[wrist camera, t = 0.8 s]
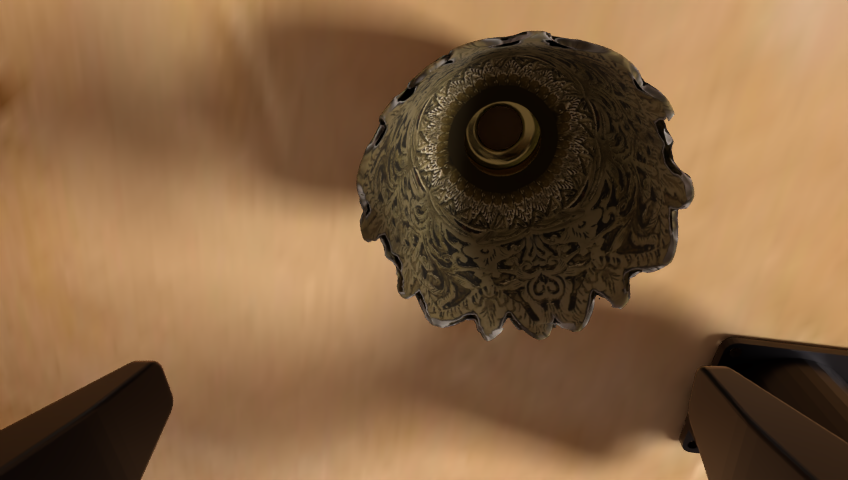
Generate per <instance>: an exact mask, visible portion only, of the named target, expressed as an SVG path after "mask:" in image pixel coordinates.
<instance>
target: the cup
mask: <svg viewBox="0 0 848 480" xmlns="http://www.w3.org/2000/svg"><path fill="white" fill-rule="evenodd" d="M497 106H505V107H509V108H511V109H513V110H514V111H515V112H516V113H517V114H518V115H519V117H520V119H521V121H522V133H521V136H520V138H519V140H518V141H517V142H516V143H515V144H514V145H513V146H512V147H510V148H508V149H505V150H492V149H490V148H488V147H486V146H485V145H484V144H483V143H482V142H481V140H480V139H479V136H478V131H477V127H478V122H479V120H480V118H481V116H482V115H483V114H484V113H485V112H486V111H487V110H489V109H491V108H493V107H497ZM673 116H674V111H673V109H672V107H671V105H670V103H669V101H668V100H667V98H666V97H665V96H664V95H663V94H662V93H661V92H660V91H659V90H657V89H656V88H654V87H653V86H651V85H650V84H648V83H646V82H644V80H643V79H642V77H641V75H640V73H639V71H638V70H637V68H636V67H635V66H634V65H633V64H632V63H631V62H630V61H628V60H627V59H626V58H625V57H623V56H622V55H620V54H619V53H617V52H615V51H613V50H611V49H608V48H606V47H603V46H600V45H597V44H593V43H589V42H586V41H582V40H576V39H567V38H561V37H555V36H551V35H550V33H547V32H544V31H527V32H522V33H519V34H516V35H513V36H508V37H496V38H487V39H482V40H478V41H474V42H471V43H467V44H464V45H462V46H459V47H457V48H455V49H453V50H451V51H450V53H449V55H444V56H442V57H440V58H439V59H438V60H436V61H435V62H433V63H432V64H430V65H429V66H427V67H426V68H425V69H424V70H423V71H422V72H421V73H419V74H418V75H417V76H416V77H415V78H414V79H413V80H411V81H410V82H409V83H408V85H407V89H406V90H405V91H403V92H402V93H401V94H400V95H398V96H395V97H394V99H393V100H392V101H391V102H390V104H389V105H388V106H387V107H386V109H385V110H384V111H383V113H382V114H381V116H380V118H379V122H380V125H379V127H378V129H377V131H376V133H375V135H374V137H373V139H372V141H371V142H370V144H369V145H368V146H367V148H366V150H365V153H364V155H363V158H362V161H361V164H360V167H359V171H358V175H357V191H358V194H359V197H360V204H361V206H362V209H363V213H362V216H361V219H360V227H361V233H362V236H363V239H364V240H365V241H367V242H371V241H377V239H379V238H380V240H381V242H382V244H383V246H384V251H385V256H386V258H388V259H389V260H390V261H392V262H393V264H394V265H395V266H396V274H397V276H398V280H397V281H398V284H397V289H398V292H399V294H400V295H401V297H403V298H404V299H409V298H411V297H413V296H414V295H415V296H416V298H417V299H418V302H419V304H420V307H421V309H422V310H423V312H424V314H425V318H426V319H427V320H428V321H429V322H430V323H431V324H432V325H434V326H438V327H442V328H445V327H449V326H454V325H456V324H458V323H459V322H463V321H465V320H474V321H475V323H476V326H477V330H478V331H479V332H480V333H481V335H482V337H483V338H484V339H485V340H486V341H491V340H492V339H494V338H495V337H496V336H497V335H498V334H500V333H501V332H502V330H503V329H504V328H503V329H502V326H503V324H504V323H505V321H506V319H507V318H510V320H511V321H512V323H513V324H514V326H515V327H516V328H517V329H518V330H524V331H525V332H526V333H527V334H529V335H530V336H532V337H533V338H536V339H538V340H542V339H546V338H547V337H548V336H549V335H550V333H551V330H552V328H555V327H556V325H558V326H560V327H561V328H564V329H568V330H571V331H573V332H577V331H581V330H582V329H583V328H584V327H585V326H586V325H587V323H588V321H589V319H590V317H591V314H592V312H593V309H594V303H595V302H594V301H595V297H596V295H599V296H601V297H603V298H606V299H607V300H608V301H609V302H610V303H611V304H612V307H613V308H619V309H622V308H623V307H624V306H625V305H626V304H627V303H628V301H629V299H630V284H629V281H630V278H632V277H634V276H636V275H637V274H638V273H640V272H646V273H649V272H654V271H657V270H659V269H662V268H663V267H665V266H667V265H668V264H669V263H671V262H672V260H673V258H674V255H675V252H676V247H677V241H678V219H677V217H678V210H679V209H686V208H687V207H688V206H689V205H690V204H691V202H692V200H693V198H694V187H693V183H692V180H691V178H690V176H688V174H686V173H684V172H683V171H681V170H680V169H679V168H678V166H677V165H676V164H675V162H674V160H673V155H672V150H671V149H672V144H673V139H672V137H671V135H670V134H669V132H668V131H667V128H666V125H665V122H664V120H665V119H666V117H667V119H668V121H670V119H671V118H672V117H673ZM599 299H600V298H599ZM556 323H557V324H556Z"/></svg>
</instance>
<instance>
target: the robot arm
mask: <svg viewBox="0 0 848 480" xmlns="http://www.w3.org/2000/svg"><path fill="white" fill-rule="evenodd" d="M734 348H737V349H736V350H734V351H731V350H732V349H734ZM172 406H173V396H172V393H171V390H170V387H169V384H168V382H167V379H166V376H165V373H164V371H163V368H162V366H161V365H160V364H159V363H158V362H156V361H134V362H131V363H129V364H127V365H125V366H123V367H121V368H119V369H117V370H115V371H113V372H111V373H110V374H108V375H106V376H104V377H102V378H100V379H98V380H96V381H94V382H92V383H90V384H88V385H87V386H85V387H83V388H81V389H79V390H77V391H75V392H73V393H71V394H69V395H67V396H65V397H64V398H62V399H60V400H58V401H56V402H54V403H52V404H50V405H48V406H46V407H44V408H42V409H41V410H39V411H37V412H35V413H33V414H31V415H29V416H27V417H25V418H23V419H21V420H19V421H18V422H16V423H14V424H12V425H10V426H8V427H6V428H4V429H2V430H0V480H141V478H142V476H143V474H144V472H145V469H146V467H147V465H148V463H149V460H150V458H151V456H152V454H153V451H154V449H155V447H156V445H157V442H158V440H159V438H160V436H161V433H162V431H163V429H164V426H165V424H166V422H167V420H168V417H169V415H170V413H171V410H172ZM688 412H689V413H688V415H687V417H686V420H685V425H684V428H683V430H682V432H681V435H680V437H679V441H680V443H681V445H682V447H683V449H684V450H685V451H687V452H692V453H700V455H701V458H702V461H703V464H704V467H705V470H706V474H707V477H708V480H848V351H847V350H839V349H830V348H822V347H813V346H805V345H796V344H788V343H779V342H771V341H762V340H754V339H746V338H737V337H731V338H728V339H725V340H724V341H722V343H721V344H720V345H719V348H718V350H717V352H716V354H715V357H714V359H713V361H712V364H711V366H702V367H700V368H698V370H697V371H696V374H695V378H694V383H693V387H692V392H691V397H690V402H689V408H688ZM691 441H692V442H691Z"/></svg>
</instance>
